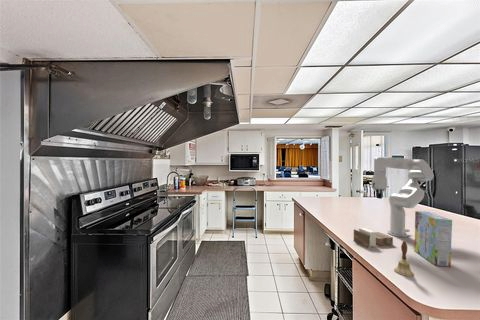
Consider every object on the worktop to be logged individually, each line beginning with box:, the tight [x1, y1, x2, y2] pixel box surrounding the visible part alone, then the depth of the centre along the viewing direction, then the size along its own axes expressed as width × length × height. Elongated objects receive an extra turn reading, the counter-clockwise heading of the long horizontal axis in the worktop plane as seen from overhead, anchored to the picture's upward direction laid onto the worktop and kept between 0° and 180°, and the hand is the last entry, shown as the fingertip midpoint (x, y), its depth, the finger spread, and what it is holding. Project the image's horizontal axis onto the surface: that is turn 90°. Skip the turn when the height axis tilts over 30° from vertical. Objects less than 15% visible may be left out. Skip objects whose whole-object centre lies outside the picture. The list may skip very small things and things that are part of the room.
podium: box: [353, 229, 394, 248], centre depth 161 cm, size 21×13×8 cm, turn 104°
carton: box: [358, 227, 377, 246], centre depth 159 cm, size 9×10×4 cm
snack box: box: [413, 210, 453, 268], centre depth 136 cm, size 22×9×26 cm, turn 168°
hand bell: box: [393, 240, 415, 277], centre depth 119 cm, size 8×8×16 cm
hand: (379, 198), depth 173 cm, fingers closed
